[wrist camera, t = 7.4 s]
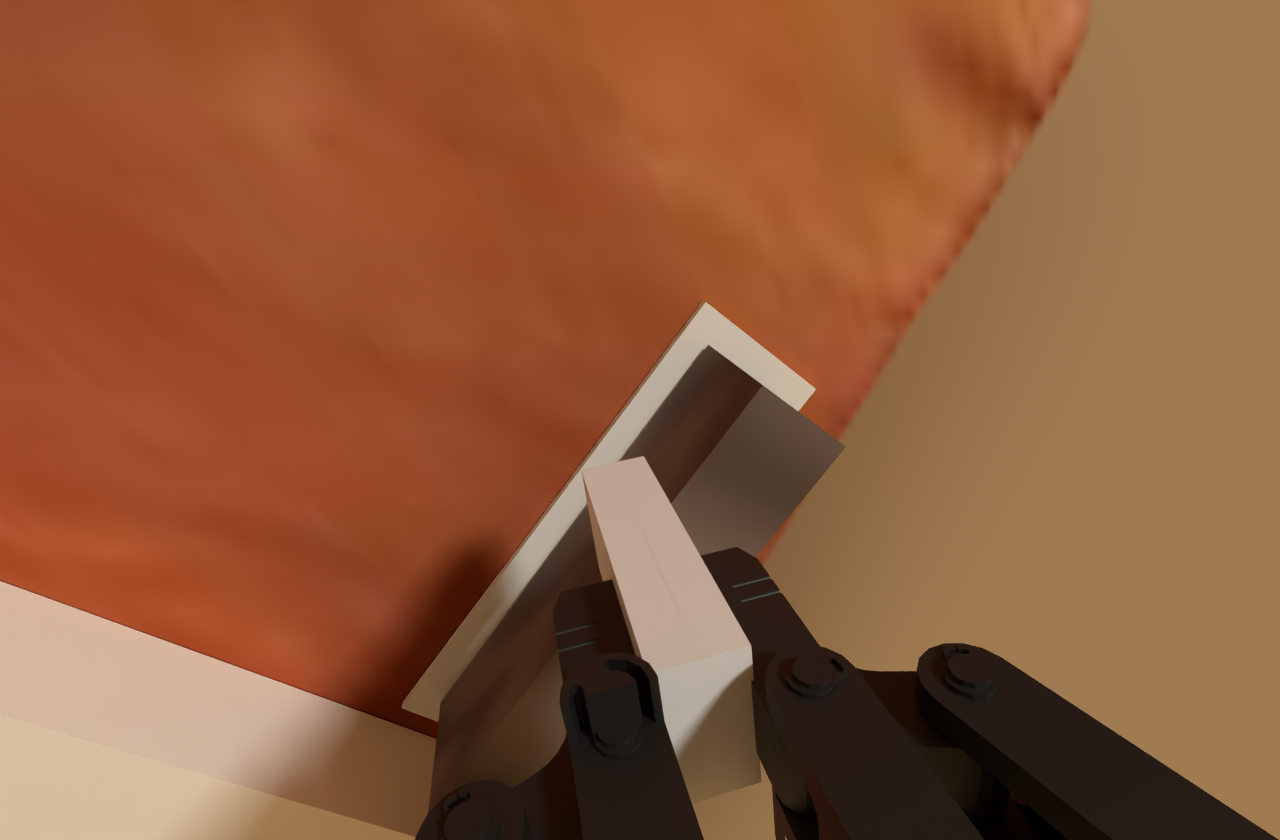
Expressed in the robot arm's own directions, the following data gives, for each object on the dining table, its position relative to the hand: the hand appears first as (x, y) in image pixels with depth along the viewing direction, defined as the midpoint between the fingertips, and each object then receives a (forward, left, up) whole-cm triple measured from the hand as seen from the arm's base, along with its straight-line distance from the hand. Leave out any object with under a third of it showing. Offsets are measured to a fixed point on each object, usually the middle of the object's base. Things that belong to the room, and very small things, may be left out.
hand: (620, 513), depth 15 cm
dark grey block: (+3, -4, -6) cm, 8 cm away
